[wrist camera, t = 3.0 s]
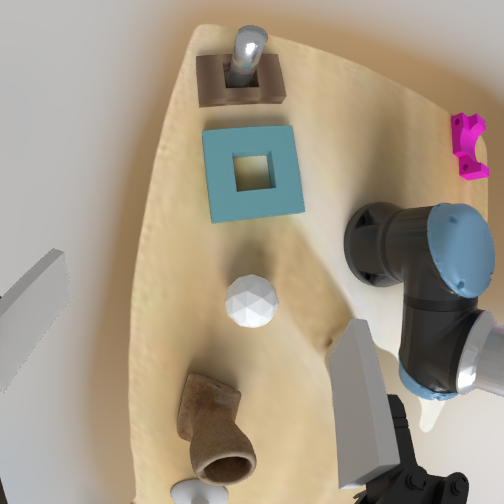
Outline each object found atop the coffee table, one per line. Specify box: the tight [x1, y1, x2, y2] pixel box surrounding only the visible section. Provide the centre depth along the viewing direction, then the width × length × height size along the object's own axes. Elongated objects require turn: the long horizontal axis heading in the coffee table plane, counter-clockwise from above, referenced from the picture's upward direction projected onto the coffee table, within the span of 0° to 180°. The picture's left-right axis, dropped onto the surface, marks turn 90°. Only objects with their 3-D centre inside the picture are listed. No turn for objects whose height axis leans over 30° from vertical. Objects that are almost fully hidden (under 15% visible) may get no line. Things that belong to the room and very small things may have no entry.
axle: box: [227, 25, 268, 88], centre depth 37 cm, size 4×4×14 cm
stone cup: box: [177, 373, 256, 486], centre depth 38 cm, size 15×12×15 cm
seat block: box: [202, 126, 305, 224], centre depth 44 cm, size 14×14×3 cm
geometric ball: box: [225, 274, 279, 328], centre depth 42 cm, size 8×8×8 cm
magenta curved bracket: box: [451, 113, 489, 180], centre depth 50 cm, size 15×6×8 cm, turn 169°
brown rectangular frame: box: [196, 54, 286, 108], centre depth 43 cm, size 14×9×3 cm, turn 97°
